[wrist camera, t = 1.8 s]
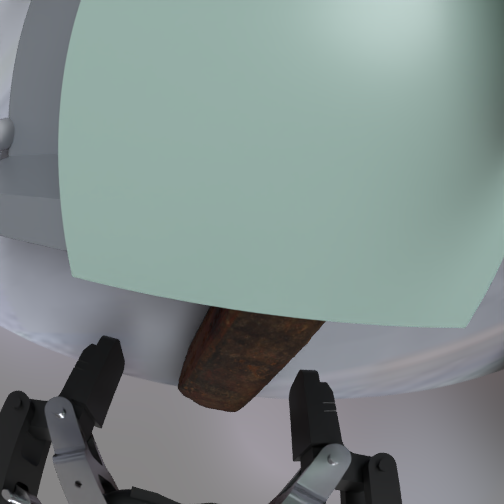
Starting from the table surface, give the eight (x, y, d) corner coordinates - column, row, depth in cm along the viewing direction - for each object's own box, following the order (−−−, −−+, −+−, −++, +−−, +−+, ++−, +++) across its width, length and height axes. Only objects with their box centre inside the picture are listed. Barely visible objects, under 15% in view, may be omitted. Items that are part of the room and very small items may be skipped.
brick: (252, 219, 13) (247, 271, 9) (321, 252, 14) (341, 311, 10) (185, 348, 18) (170, 403, 14) (237, 367, 19) (232, 422, 15)
